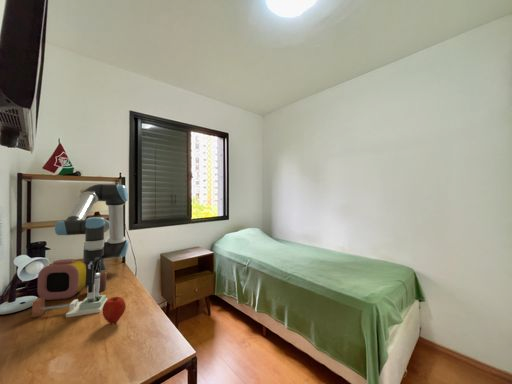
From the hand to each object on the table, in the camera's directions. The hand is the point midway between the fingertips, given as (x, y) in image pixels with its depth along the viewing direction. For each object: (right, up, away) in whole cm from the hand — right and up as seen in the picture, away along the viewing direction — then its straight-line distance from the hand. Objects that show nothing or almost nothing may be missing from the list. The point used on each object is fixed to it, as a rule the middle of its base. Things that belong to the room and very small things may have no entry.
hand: (93, 295), depth 106 cm
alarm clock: (-26, -6, +12) cm, 30 cm away
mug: (-12, -7, +18) cm, 22 cm away
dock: (-2, -6, -1) cm, 6 cm away
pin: (-13, -5, -5) cm, 15 cm away
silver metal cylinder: (0, -4, 0) cm, 4 cm away
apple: (+18, -6, -12) cm, 23 cm away
